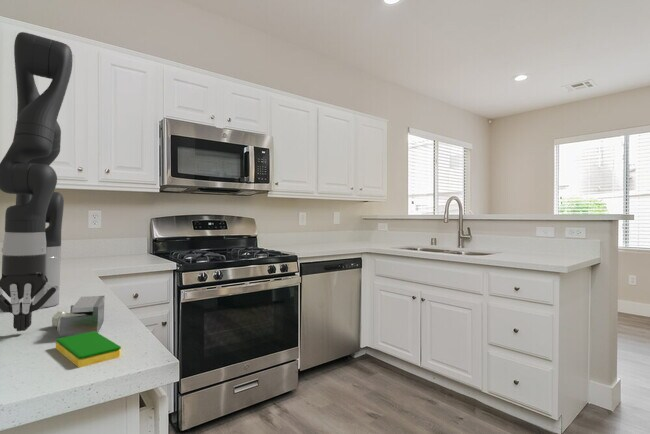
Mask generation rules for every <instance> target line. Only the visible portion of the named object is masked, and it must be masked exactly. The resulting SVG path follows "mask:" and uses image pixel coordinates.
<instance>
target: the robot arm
mask: <svg viewBox="0 0 650 434" xmlns="http://www.w3.org/2000/svg"><path fill="white" fill-rule="evenodd" d="M13 50H14V51H13V55H14V56H13V57H14V58H13V59H14V71H15V79H16V80H15V81H16V93H17V97H16V98H17V113H16V123H15V129H14V134H13V140H12V143H11V144H10V146H9V148H8V150H7V152H6V153H5V154H4V157H3V158H2V159H1V161H0V191H1V192H3V193H6V194H12V195H15V204H14V205H10V206H8V207H7V208H6V210H5V213H4V214H5V216H4V219H5V220H4V236H3V240H2V248H1V253H2V255H1V256H2V257H1V278H0V310H1V311H2V312H3V313H10V314H12V315H13V323H12V324H13V326H12V327H13V329H15V330H16V332H23V331H27V330H28V328H30V326H31V325H32V318H33V317H32V313H33V312H35V311H38V310H40V309H43V308H49V307H53V306H57V305H58V304H60V288H61V287H60V285H61V284H60V283H61V262H62V260H61V258H62V254H61V253H62V228H63V227H62V226H63V217H64V207H65V205H64V197H63V194H62V193H61V192H58V191H55V190H56V187H57V184H58V175H57V173H56V171H55V169H54V168H53V167H52V166H51V164H52V163H53V162H54V161H55V160H56V159H57V158H58V156H59V154H60V152H61V139H62V136H61V135H62V130H61V126H60V124H59V122H58V121H57V119H58V116H59V112H60V110H61V107H62V105H63V102H64V99H65V95H66V92H67V89H68V87H69V86H68V85H69V82H70V79H71V74H72V70H73V59H74V58H73V53H72V52H73V51H72V49H71V47H70V46H69V45H68V44H66V43H64V42H61V41H59V40H55V39H51V38H47V37H44V36H40V35H37V34H33V33H28V32H26V31H25V32H24V31H22V32H18V34H17V35H16V36H15V39H14V45H13ZM34 76H36V77H41V78H46V79H50V80H51V81H50V84H49V85H48V87H47V88H46V89H45V90H44V91H43V92H42V93H41V94H40V93H39V91H38V88H37V85H36V81H35V80H36V79H35V77H34ZM46 223H48V226H47V227H46ZM4 293H5V294H6V296H7V297H9V298H10V301H9V300H8V299H7V298H6V297H5V296H4V295H3V294H4Z"/></svg>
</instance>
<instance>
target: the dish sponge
mask: <svg viewBox="0 0 650 434" xmlns="http://www.w3.org/2000/svg"><path fill="white" fill-rule="evenodd" d="M55 341H56V342H55V349H56V350H57V351H58V352H59V353H60V354H62V355H63V356H64V357H66V358H67V359H68V360H69V361H70V362H71V363H73V364H74V365H75V366H76V367H78V368H83V367H87V366H91V365H95V364H99V363H103V362H106V361H110V360H114V359H118V358H120V357H121V353H122V352H121V351H122V350H121V348H122V346H121V345H119V344H117V343H115V342H114V341H112V340H110V339H109V338H108V337H105V336H104V335H102V334H101V333H99V332H98V333H97V332H94V331H93V332H88V333H83V334H78V335H73V336H68V337H63V338H60V337H58V338H56V339H55Z"/></svg>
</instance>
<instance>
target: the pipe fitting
mask: <svg viewBox="0 0 650 434" xmlns="http://www.w3.org/2000/svg"><path fill="white" fill-rule="evenodd" d="M82 315H88V314H73V313H70V312H66V311H65V312H64V311H60V310H59V311H56V313H55V314H54V315H53V316H52V318H51V326H52V327H56V329H57V332H58V334H60V318H61V317H68V316H82Z"/></svg>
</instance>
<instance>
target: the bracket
mask: <svg viewBox="0 0 650 434" xmlns="http://www.w3.org/2000/svg"><path fill="white" fill-rule="evenodd" d="M69 313H73V314H88V315H82V316H68V317H61V318H60V333H59V338H63V337H68V336H73V335H78V334H83V333H88V332H93V331H94V332H97V333H99V332H100V330H101V328H102V325H103V323H104V321H105V295H92V296H91V295H89V296H81V297H80V298H79V299H78V300H77V301H76V302H75V304H73V305H72V304H71V305H70V312H69Z"/></svg>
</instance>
